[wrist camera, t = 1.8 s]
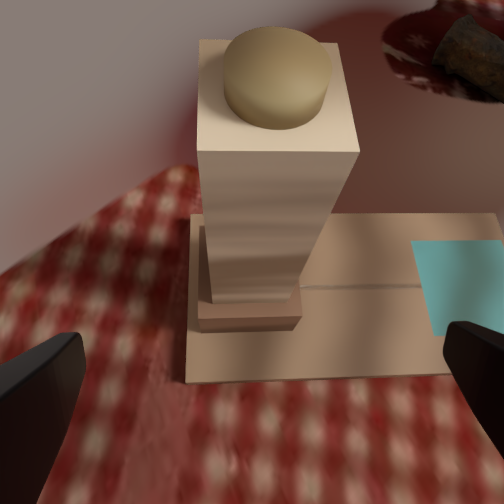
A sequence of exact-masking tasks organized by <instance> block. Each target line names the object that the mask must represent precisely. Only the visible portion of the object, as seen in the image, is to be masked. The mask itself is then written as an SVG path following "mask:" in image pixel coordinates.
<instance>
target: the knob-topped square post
mask: <svg viewBox="0 0 504 504" xmlns="http://www.w3.org/2000/svg"><path fill="white" fill-rule="evenodd" d="M198 79H199V80H198V124H197V125H198V126H197V155H198V166H199V176H200V185H201V195H202V205H203V215H204V224H205V226H199V273H198V322H199V326H200V330H201V334H202V333H235V332H269V331H293V330H294V328H295V327H296V325H297V324H298V322H299V321H300V319H301V318H302V316H303V313H302V303H301V294H300V284H299V277H300V275H301V273H302V271H303V268H304V266H305V264H306V262H307V260H308V258H309V256H310V254H311V252H312V250H313V248H314V246H315V244H316V242H317V240H318V237H319V235H320V233H321V231H322V229H323V227H324V225H325V223H326V221H327V219H328V217H329V215H330V213H331V211H332V209H333V206H334V204H335V202H336V200H337V198H338V196H339V194H340V192H341V190H342V188H343V186H344V184H345V182H346V179H347V178H348V175H349V173H350V171H351V169H352V167H353V165H354V163H355V161H356V159H357V157H358V155H359V153H360V149H359V145H358V140H357V135H356V130H355V126H354V121H353V116H352V111H351V106H350V102H349V97H348V92H347V87H346V83H345V78H344V73H343V68H342V63H341V59H340V54H339V49H338V45H337V43H319V42H317V41H316V40H315V39H313V38H312V37H310V36H308V35H306V34H304V33H302V32H299V31H296V30H293V29H289V28H284V27H260V28H255V29H252V30H249V31H246V32H244V33H242V34H241V35H239V36H237V37H236V38H235V39H233V40H209V39H208V40H207V39H200V40H199V78H198Z"/></svg>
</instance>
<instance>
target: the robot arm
mask: <svg viewBox="0 0 504 504" xmlns="http://www.w3.org/2000/svg"><path fill="white" fill-rule="evenodd" d="M443 357H444V360H445V362H446V364H447V366H448V367H449V369H450V371H451V373H452V375H453V377H454V379H455V381H456V382H457V384H458V386H459V388H460V390H461V392H462V394H463V396H464V397H465V399H466V401H467V403H468V405H469V407H470V408H471V410H472V412H473V414H474V415H475V417H476V418H477V420H478V421H479V423H480V424H481V426H482V427H483V429H484V431H485V432H486V434H487V435H488V437H489V438H490V440H491V441H492V443H493V444H494V446H495V447H496V449H497V450H498V452H499V453H500V455H501V456H502V458H503V459H504V334H502V333H500V332H497V331H494V330H491V329H489V328H486V327H483V326H481V325H478V324H475V323H472V322H470V321H452V322H450V323H449V325H448V327H447V331H446V336H445V340H444V345H443ZM85 370H86V360H85V353H84V347H83V341H82V337H81V335H80V334H79V333H77V332H68V333H60V334H58V335H56V336H54V337H52V338H50V339H48V340H47V341H45V342H43V343H41V344H39V345H37V346H35V347H34V348H32V349H30V350H28V351H26V352H24V353H22V354H20V355H19V356H17V357H15V358H13V359H11V360H9V361H7V362H6V363H4V364H2V365H0V504H36V503H37V501H38V498H39V496H40V494H41V491H42V489H43V487H44V484H45V482H46V480H47V478H48V475H49V473H50V471H51V468H52V466H53V464H54V461H55V459H56V457H57V454H58V452H59V450H60V447H61V445H62V443H63V440H64V438H65V435H66V433H67V430H68V427H69V424H70V421H71V418H72V414H73V411H74V408H75V404H76V401H77V398H78V394H79V391H80V388H81V385H82V381H83V378H84V375H85Z"/></svg>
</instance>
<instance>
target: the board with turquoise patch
mask: <svg viewBox="0 0 504 504" xmlns="http://www.w3.org/2000/svg"><path fill="white" fill-rule="evenodd" d="M199 226H205V224H204V215H203V214H191V222H190V254H189V285H188V317H187V348H186V380H185V383H186V384H187V385H193V384H220V383H247V382H275V381H302V380H329V379H356V378H384V377H411V376H438V375H452V373H451V371H450V369H449V367H448V366H447V364H446V362H445V360H444V357H443V345H444V340H445V336H446V331H447V327H448V325H449V323H450V322H452V321H470V322H472V323H475V324H478V325H481V326H483V327H486V328H489V329H491V330H494V331H497V332H500V333H502V334H504V237H503V234H502V231H501V229H500V226H499V223H498V221H497V218H496V215H495V213H409V214H408V213H399V214H398V213H393V214H392V213H387V214H386V213H384V214H382V213H381V214H380V213H378V214H377V213H374V214H330V215H329V217H328V219H327V221H326V223H325V225H324V227H323V229H322V231H321V233H320V235H319V237H318V240H317V242H316V244H315V246H314V248H313V250H312V252H311V254H310V256H309V258H308V260H307V262H306V264H305V266H304V268H303V271H302V273H301V275H300V277H299V284H300V294H301V303H302V313H303V316H302V318H301V319H300V321H299V322H298V324H297V325H296V327H295V328H294V330H293V331H269V332H235V333H202V334H201V330H200V326H199V322H198V273H199Z"/></svg>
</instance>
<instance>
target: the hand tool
mask: <svg viewBox="0 0 504 504" xmlns="http://www.w3.org/2000/svg"><path fill="white" fill-rule="evenodd" d="M431 63H432V65H442V66H444V68H445V71H446V73H447V74H452V73H456V74H458V75H459V76H461V77H462V78H464V79H466V80H468V81H469V82H471V83H472V84H474V85H476V86H477V87H479V88H480V89H482V90H484V91H486V92H487V93H489V94H490V95H492V96H493V97H495V98H496V99H498V100H500V101H501V102H502V103H503V104H504V41H503V40H501V39H500V38H499V37H498V36H497V35H495V34H492V33H490V32H488V31H487V30H485V29H484V28H482V27H480V26H479V25H478V24H477V23H476V22H475V20H474V19H473V16H472V15H470V14H468V15H466V16H464V17H462V18H459V19H458V20H456V21H455V22H454V23H453V25H452V27H451V28H450V29H449V30H448V32H447V33H446V35H445V36H444V38H443V39H442V40H441V42H440V44H439V46H438V48H437V49H436V51H435V54H434V56H433V59H432V62H431Z"/></svg>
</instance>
